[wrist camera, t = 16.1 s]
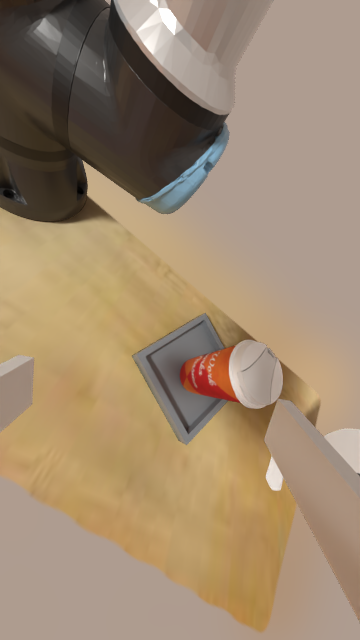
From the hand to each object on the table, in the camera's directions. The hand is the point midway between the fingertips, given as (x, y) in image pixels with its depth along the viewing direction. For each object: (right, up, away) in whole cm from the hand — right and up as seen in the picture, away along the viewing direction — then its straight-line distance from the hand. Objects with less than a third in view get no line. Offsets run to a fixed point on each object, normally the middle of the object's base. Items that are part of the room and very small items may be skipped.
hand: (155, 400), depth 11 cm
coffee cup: (+4, -6, +25) cm, 26 cm away
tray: (+3, -5, +26) cm, 27 cm away
